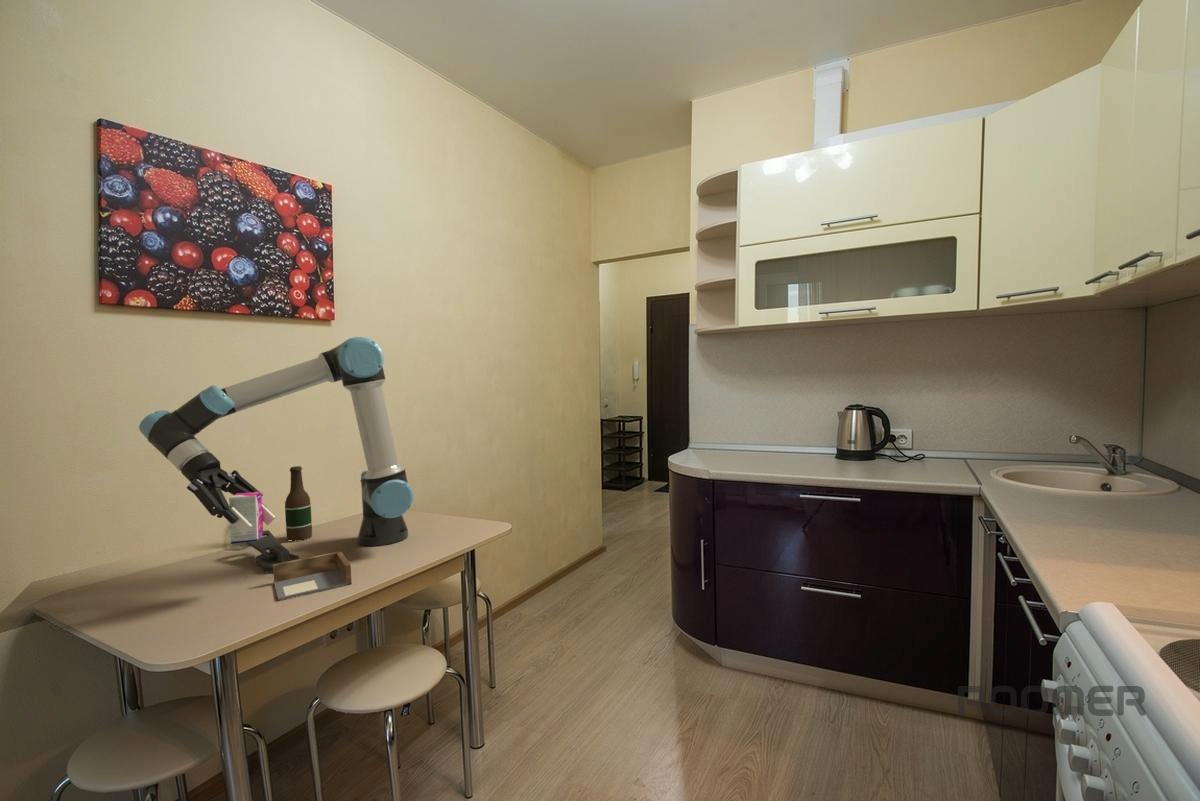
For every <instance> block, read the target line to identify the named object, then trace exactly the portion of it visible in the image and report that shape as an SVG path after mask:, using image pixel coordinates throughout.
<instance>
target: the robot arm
mask: <svg viewBox="0 0 1200 801" xmlns="http://www.w3.org/2000/svg"><path fill="white" fill-rule="evenodd" d="M384 361H385V356H384V352H383V350H382V348H381V347H380V346H379V344H378V343H377V342H375V341H374V340H373V339H371V338H367V337H363V336H354V337H350V338H348V339H346V340H345V341H343V342H342V343H340V344H339V345H337V346H336V347H332V348H331V349H330V350H326V351H323V352H321V353H319V355H318V356H317V357H315V358H313V359H311V360H307V361H304V362H301V363H297V364H294V365H291V366H287V367H285V368H281V369H279V370H276V371H273V372H268V373H266V374H264V375H260V376H257V377H253V378H251V379H247V380H244V381H241V382H238V383H235V384H232V385H229V386H226V387H223V388H220V387H218V386H217V385H210V386H208V387H207V388H205V389H203V390H201V391H200V392H199V393H197V394H196V395H195V396H193V397H192V398H191V399H190V400H188V401H186V402H185V403H184V404H182V405H181V406H180V407H179V408H177V409H175V410H174V411H171V412H170V411H168V410H167V409H166V410H165V409H161V410H157V411H154V413H153V412H152V413H150V414H148V415H146V416H145V417H144V418H143V419H142V420H141V421H140V423H139V425H138V428H139V430H138V431H139V432H140V433H141V435H143V436H144V437H145V439H146V440H147V442H149V443H150V444H151V445H152V446H153V447H154V448H155V449H156V450H158V452H159V453H161V454H162V456H164V457H165V458H166V459H167V460H168V461H169V462H170V463H171V464H172V465H173V466H174V467H175V468H176V469H177V470H178V471H180V472H181V474H182V475H183V477H185V478H186V480H187V481H189V482H190V483H189V484H188V485H187V487H186V489H187V490H188V491H190V492H191V493H193V494H194V496H195V497H196V498H197V499H198V501H199V502H200V503H201V505H203V506H204V508H205V509H206V511H207V512H208V513H209V514H210V516H212V517H215V516H216V517H217V519H221V518H225V519H226V520H227V521H228V523H229V524H230V523H231V524H233V525H234V526H235V527H236V528H237V529H238V530H239V531H240V532H241V533H242V534H243V535H244V534H246V533H247V532H248V531H249V529H250V528H251V527H252V525H251V524H250V523H249V522H248V521H247V520H246V519H245V518H244V517H243V516H242V515H241V514H240V513H239V512H238V511H237V510H236V509H235V508H234V507H233V508H231V509H230V505H229V503H228V501H227V499H226V497H225V494H224V493H223V492H225V493H229V494H231V495H232V496H233V495H235V494H237V493H251V492H260V490H258V489H257V488H256V487H255V486H253V484H252V483H250V482H249V481H248V480H246V479H245V478H244V477H243V476H241V474H240V473H239V471H237V470H235V469H234V470H232V471H231V472H227V471H226V470H224V469H223V468H222V467H221V461H220V460H219V459H218V458H217V457H216V456H214V454H213V453H212V452H210V451H209V450H210V449H208V448H207V447H206V445H204V444H203V443H202V442H201V441H200V440H199V439H197V437H195V436H196V435H197V434H199V433H201V431H203V430H205V429H206V428H207V427H209V426H210V425H212V424H213V423H214V422H216V421H217V420H218V419H221V418H224V417H227V416H230V415H233V414H235V413H239V412H241V411H244V410H247V409H249V408H253V407H257V406H258V405H262V404H265V403H268V402H270V401H273V400H277V399H279V398H282V397H283V398H284V397H285V396H288V395H291V394H294V393H297V392H300V391H303V390H306V389H308V388H312V387H314V386H315V387H316V386H318V385H320V384H323V383H326V382H330V383H332V384H333V383H337V382H340V381H341V382H342V386H343V388H344V389H346V390H348V391H349V392H350V397H351V401H352V404H353V405H352V406H353V409H354V413H355V418H356V422H357V427H358V431H359V435H360V440H361V444H362V445H361V446H362V448H363V454H364V457H365V458H364V459H365V462H366V467H367V470H363V471H362V472H361V474H360V481H359V482H360V485H361V501H362V505H361V507H362V521H361V524H360V527H359V531H358V534H357V540H358V541H357V542H358V544H359V545H362V546H368V547H371V546H385V545H392V544H395V543H398V542H402V541H405V539H407V538H408V537H409V527H408V526H407V524H406V521H405V519H404V516H403V515H404V514H405V513H407V512H408V511H409V509H411V507H412V504H413V501H414V491H413V489H412V486H411V485H410V483H409V482H408V478H407V473H406V468H405V466H403V465H401V464H400V463H399V460H398V458H397V457H398V456H397V452H396V447H395V444H394V443H395V442H394V437H393V433H392V429H391V425H390V418H389V415H388V411H387V406H386V400H385V398H384V397H385V396H384V392H383V387H382V386H383V385H384V383H385V381H386V377H385V376H386V374H385V370H384V366H383V365H384V363H385V362H384ZM263 496H264V494H263V493H262V497H263ZM262 518H263V522H264V524H265V525H266V526H269V525H270V524H271V523H272V522H273V521H274V520H275V519H276V515H274V514H273V512H271V510H270V509H268V507H267V506H266V505H265V503H263V502H262Z"/></svg>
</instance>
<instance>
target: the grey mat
mask: <svg viewBox="0 0 1200 801" xmlns="http://www.w3.org/2000/svg"><path fill="white" fill-rule="evenodd" d="M347 584H348V585H346V582H345V580H344V578H343V577H342V575H341V574H340V572H339V570H338V569H336V570H331V571H326V572H322V573H317V574H312V575H307V576H303V577H298V578H293V579H289V580H284V581H279V582H274V581H273V585H275V586H274V589H276V590H275V594H276V593H277V594H276V598H277V597H278V598H277V601H278V600H281V601H283V600H282V599H285V600H288V599H287V598H290V599H293V598H292V597H294V598H297V597H296V596H298V597H302V596H301V595H303V596H306V594H307V595H310V594H311V595H312V594H316V593H320V592H324V590H325V591H328V589H329V590H333V589H337V587H338V588H341V586H342V587H345V586H346V587H347V586H349V583H347ZM350 584H351V583H350ZM351 585H352V584H351ZM332 588H333V589H332Z"/></svg>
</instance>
